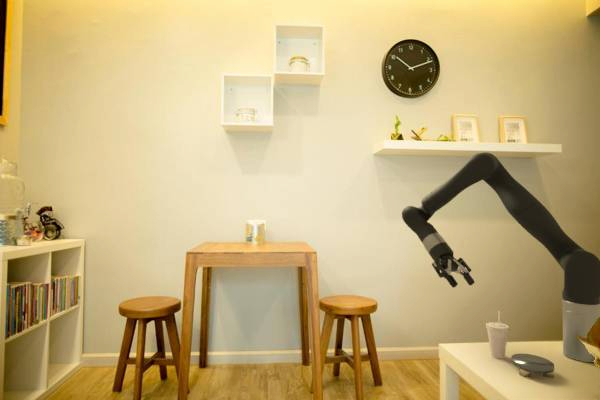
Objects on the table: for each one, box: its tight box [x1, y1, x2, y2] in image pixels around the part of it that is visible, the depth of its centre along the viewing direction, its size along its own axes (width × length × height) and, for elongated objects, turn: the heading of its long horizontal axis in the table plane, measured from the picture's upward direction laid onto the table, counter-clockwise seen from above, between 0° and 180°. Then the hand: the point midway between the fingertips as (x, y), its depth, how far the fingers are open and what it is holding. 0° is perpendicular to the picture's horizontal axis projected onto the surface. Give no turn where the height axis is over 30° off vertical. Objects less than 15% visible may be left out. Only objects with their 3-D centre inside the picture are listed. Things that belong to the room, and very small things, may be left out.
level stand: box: [511, 353, 555, 379], centre depth 99 cm, size 10×10×3 cm
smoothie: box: [485, 310, 510, 360], centre depth 110 cm, size 6×6×14 cm
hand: (464, 285), depth 121 cm, fingers open, 8 cm apart
